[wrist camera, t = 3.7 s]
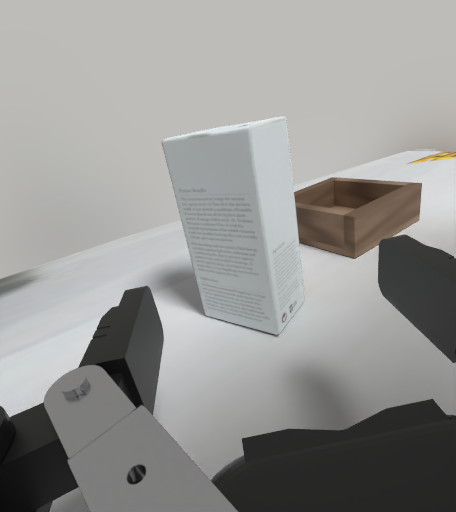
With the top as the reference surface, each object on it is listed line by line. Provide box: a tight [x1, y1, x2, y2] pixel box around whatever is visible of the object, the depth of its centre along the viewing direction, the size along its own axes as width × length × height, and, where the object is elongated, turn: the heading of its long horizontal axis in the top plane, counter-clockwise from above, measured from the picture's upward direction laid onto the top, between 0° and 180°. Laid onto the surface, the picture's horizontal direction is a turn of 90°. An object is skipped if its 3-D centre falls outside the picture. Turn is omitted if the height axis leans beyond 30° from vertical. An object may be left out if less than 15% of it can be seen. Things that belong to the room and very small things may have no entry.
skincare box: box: [162, 116, 305, 335], centre depth 20 cm, size 6×4×12 cm
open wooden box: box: [294, 177, 422, 258], centre depth 32 cm, size 10×10×4 cm
